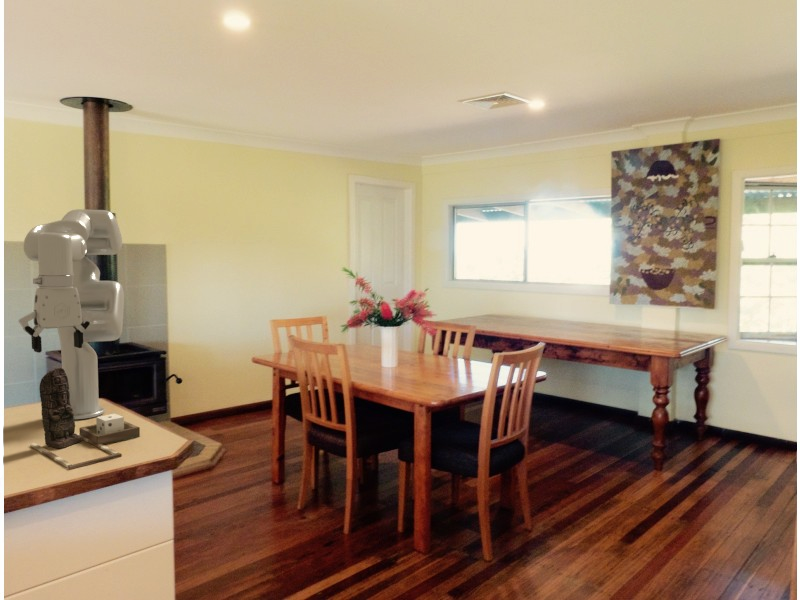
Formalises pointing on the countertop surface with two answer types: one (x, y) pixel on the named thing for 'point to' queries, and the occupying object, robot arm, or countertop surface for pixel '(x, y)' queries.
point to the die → (109, 423)
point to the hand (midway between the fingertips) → (58, 349)
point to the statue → (57, 410)
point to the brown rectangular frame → (70, 466)
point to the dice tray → (110, 434)
